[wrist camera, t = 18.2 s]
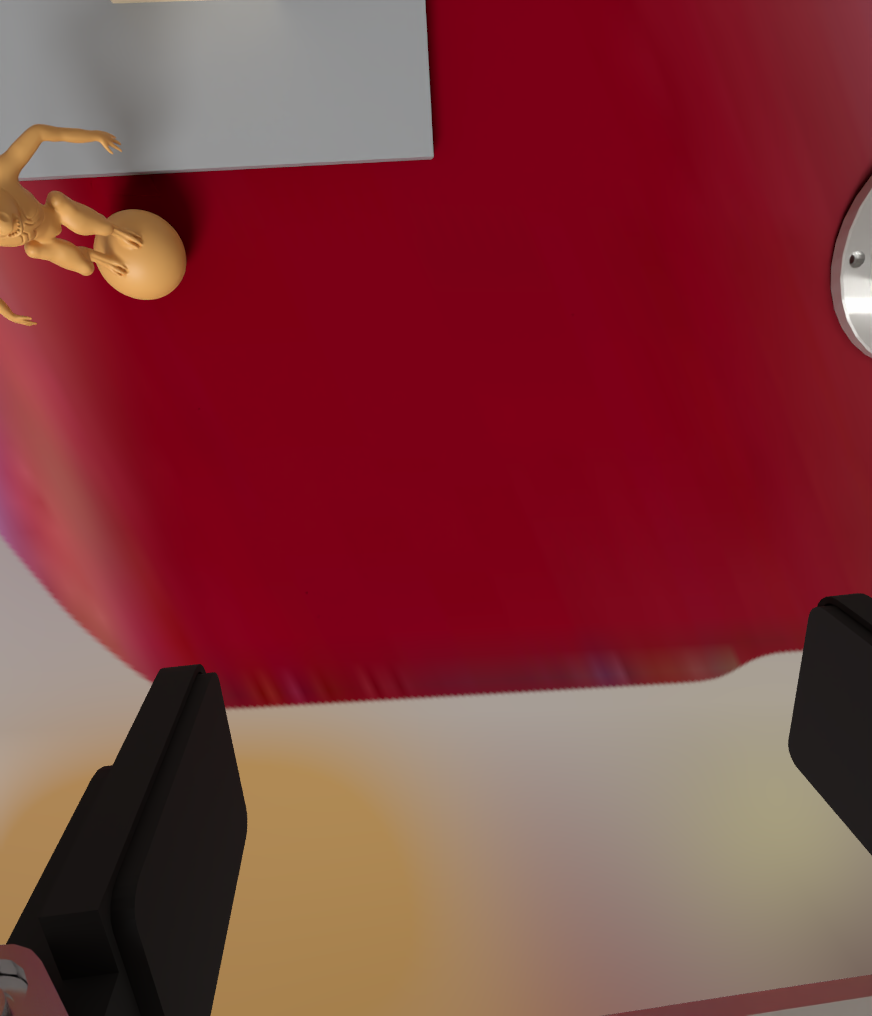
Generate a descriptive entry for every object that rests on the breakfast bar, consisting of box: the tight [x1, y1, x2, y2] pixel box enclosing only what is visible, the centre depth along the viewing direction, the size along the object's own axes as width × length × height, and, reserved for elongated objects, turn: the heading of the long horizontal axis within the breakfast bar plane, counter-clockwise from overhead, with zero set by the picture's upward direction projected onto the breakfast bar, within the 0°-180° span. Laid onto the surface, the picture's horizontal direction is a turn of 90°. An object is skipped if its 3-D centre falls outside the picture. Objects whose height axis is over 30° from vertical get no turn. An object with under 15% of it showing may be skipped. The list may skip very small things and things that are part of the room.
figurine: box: [0, 124, 186, 326], centre depth 27 cm, size 8×6×12 cm
